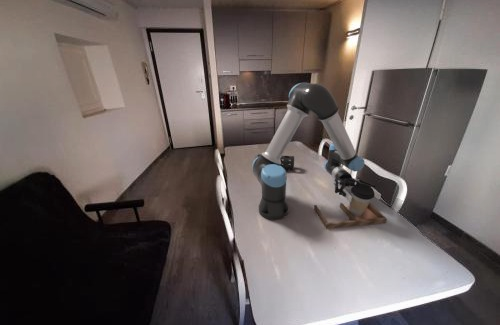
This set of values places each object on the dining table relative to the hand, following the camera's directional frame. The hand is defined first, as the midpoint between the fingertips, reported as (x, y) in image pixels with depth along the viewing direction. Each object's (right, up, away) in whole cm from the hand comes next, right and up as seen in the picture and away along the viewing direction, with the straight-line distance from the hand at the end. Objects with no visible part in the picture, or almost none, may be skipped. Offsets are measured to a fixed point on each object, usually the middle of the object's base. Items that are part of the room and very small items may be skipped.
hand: (365, 198), depth 89 cm
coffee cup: (-1, -8, +7) cm, 11 cm away
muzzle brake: (-34, +12, +56) cm, 67 cm away
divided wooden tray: (-5, -10, +6) cm, 12 cm away
